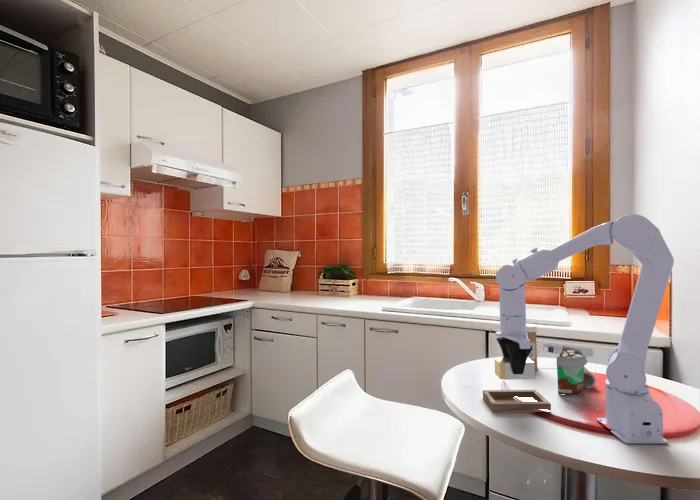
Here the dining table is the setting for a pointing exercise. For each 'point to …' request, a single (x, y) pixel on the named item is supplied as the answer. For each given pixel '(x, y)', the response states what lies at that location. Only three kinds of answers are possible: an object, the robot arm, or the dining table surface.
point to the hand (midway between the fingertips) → (514, 370)
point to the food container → (570, 371)
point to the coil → (588, 379)
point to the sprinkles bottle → (532, 342)
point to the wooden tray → (514, 401)
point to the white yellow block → (505, 371)
